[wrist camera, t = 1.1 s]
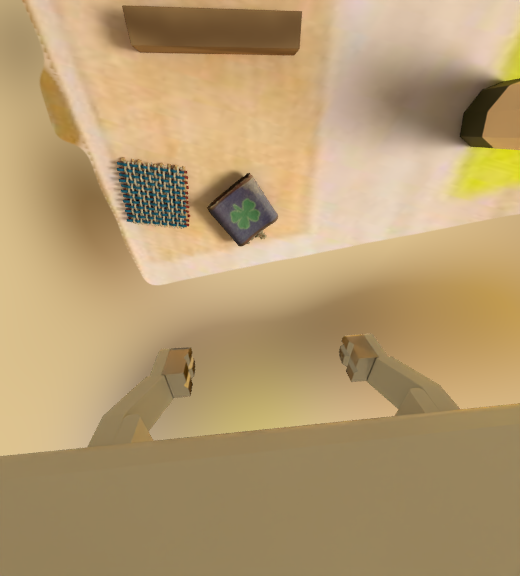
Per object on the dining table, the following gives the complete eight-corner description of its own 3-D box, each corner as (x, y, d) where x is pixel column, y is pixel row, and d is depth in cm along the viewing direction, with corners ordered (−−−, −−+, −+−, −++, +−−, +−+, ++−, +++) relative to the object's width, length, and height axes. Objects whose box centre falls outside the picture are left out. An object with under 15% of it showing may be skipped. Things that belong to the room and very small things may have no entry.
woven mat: (191, 227, 43) (189, 231, 41) (131, 221, 41) (126, 225, 39) (189, 165, 37) (187, 167, 35) (119, 155, 35) (113, 157, 34)
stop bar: (132, 16, 27) (122, 5, 24) (296, 21, 28) (301, 11, 26) (140, 52, 29) (131, 45, 26) (294, 55, 30) (299, 48, 28)
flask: (251, 173, 35) (285, 226, 41) (248, 170, 37) (281, 220, 43) (206, 210, 37) (245, 255, 43) (206, 205, 39) (243, 249, 45)
